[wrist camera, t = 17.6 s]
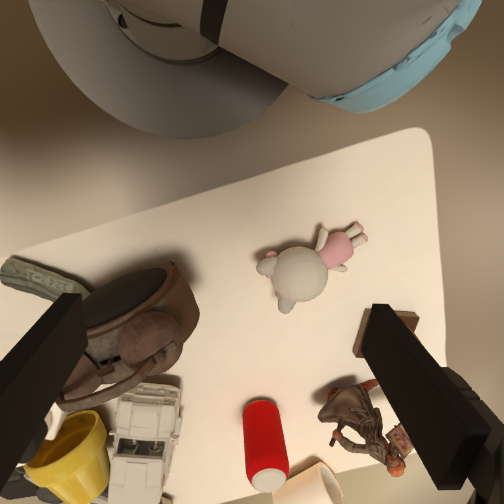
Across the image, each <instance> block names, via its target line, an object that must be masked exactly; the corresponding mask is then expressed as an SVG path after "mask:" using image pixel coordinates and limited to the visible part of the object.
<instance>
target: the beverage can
mask: <svg viewBox="0 0 504 504" xmlns="http://www.w3.org/2000/svg"><path fill="white" fill-rule="evenodd" d="M243 433H244V449H245V465H246V475H247V478H248V480H249V481H250V483H251V484H252V486H253V487H254V488H255V489H256V490H258V491H260V492H264V493H265V492H266V493H269V492H274V491H277V490H279V489H280V488H282V487H283V486H284V484H285V483H286V480H287V477H288V474H289V461H288V456H287V451H286V446H285V440H284V435H283V430H282V424H281V419H280V414H279V410H278V408H277V406H276V405H275V404H273V403H272V402H270V401H267V400H257V401H254V402H252V403H250V404H249V405H248V406H247V407H246V408H245V410H244V412H243Z"/></svg>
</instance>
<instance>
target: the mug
mask: <svg viewBox="0 0 504 504" xmlns="http://www.w3.org/2000/svg"><path fill="white" fill-rule="evenodd" d="M272 501H273V504H345V500H344V496H343V493H342V491H341V488H340V486H339V484H338V482H337V480H336V478H335V476H334V475H333V473H332V472H331V470H330V469H329V468H328V467H327V465H325V464H324V463H322V462H319V463H317V464H315V465H314V466H312V467H310V468H308V469H307V470H305V471H303V472H301V473H299V474H298V475H296V476H294V477H292V478H291V479H289V480H287V481H286V483H285V484H284V486H283V487H282V488H280V489H279V490H277V491H274V492H273V495H272Z"/></svg>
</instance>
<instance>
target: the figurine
mask: <svg viewBox="0 0 504 504" xmlns="http://www.w3.org/2000/svg"><path fill="white" fill-rule="evenodd" d="M378 384H379V383H378V381H377V380H369V381H366V382H363V383H360V384H355V385H350V386H347V387H345V388H342V389H340V390H339V389H338V388H334V389H332V390H330V392H329V394H328V399H327V402H326V404H325V405H324V406H323V407H322V409H321V410H320V412H319V414H318V419H319V420H320V421H321V422H322V423H323V422H336V423H338V426H337V429H335V430H334V431H333V437H332V439H331V441H330V443H329V445H330V446H331V447H333V446H334V443H335V441H336V440H337V441H338V442H339V443H340V445H341V446H343V447H344V448H345V449H346V450H347V451H349V452H352V453H364V454H369V455H370V456H371V457H373V458H374V459H376V460H378V461H379V462H381V463H383V464H384V465H386V466H387V470H388V472H389V473H390V474H391V475H392V476H393V477H400V476H401V475H403V473H404V469H405V467H406V466H405V462H404V460H403V459H405V458H406V456H407V455H408V454H409V453H410V452H411V450H412V449H413V448H414V446H413V444H412V442H411V441H410V439H409V437H408V435H407V433H406V432H405V430H404V428H403V426H402V424H401V423H399V424H398V425H394V427H395V428H393V429H392V430H391V431H389V432H388V433H387V434H386V435H385V436H386V438H387V439H388V440H389V441H390V443H389V444H388V442H387V441H386V439H385V438H384V437H383V436H382V429H383V424H382V417H381V413H380V410H379V408H377V407H376V408H373V406H372V404H371V400H370V398H369V394H368V391H369V390H371V389H372V388H373V387H375V386H377V385H378ZM345 425H347V426H349V427H351V428H353V429H354V430H355V431H357V432H358V434H359V435H360V436H361V437H362V438H364V439H365V442H366V444H356V443H354V442H352V441H350V440H349V439H347V438H346V437H344V436H343V434H342V433H341V430H342V429H343V428H344V427H345ZM399 454H400V455H401V456H399ZM401 457H402V458H401Z"/></svg>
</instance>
